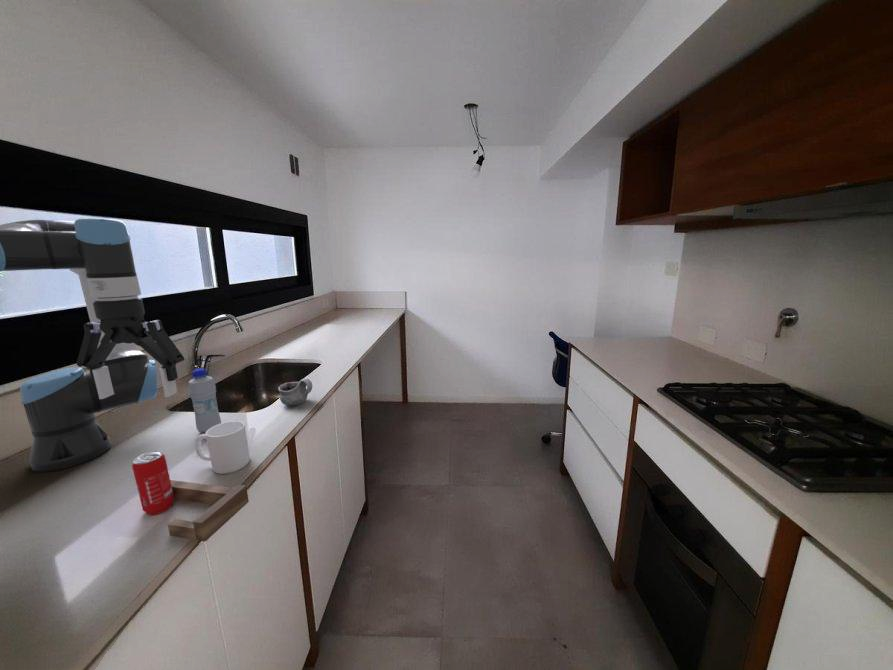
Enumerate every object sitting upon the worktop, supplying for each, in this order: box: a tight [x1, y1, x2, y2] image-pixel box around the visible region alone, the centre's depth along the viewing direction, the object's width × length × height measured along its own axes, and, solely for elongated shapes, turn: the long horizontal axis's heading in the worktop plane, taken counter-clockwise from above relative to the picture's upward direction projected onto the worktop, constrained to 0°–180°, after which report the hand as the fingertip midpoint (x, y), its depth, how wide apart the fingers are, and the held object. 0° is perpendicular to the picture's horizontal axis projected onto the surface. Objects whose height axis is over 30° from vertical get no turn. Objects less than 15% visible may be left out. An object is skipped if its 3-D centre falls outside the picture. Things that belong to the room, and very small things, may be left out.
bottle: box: [188, 368, 222, 435], centre depth 106 cm, size 7×7×20 cm
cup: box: [194, 420, 251, 475], centre depth 89 cm, size 8×12×10 cm
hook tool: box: [166, 479, 249, 542], centre depth 72 cm, size 20×11×4 cm, turn 79°
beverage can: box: [131, 450, 175, 516], centre depth 73 cm, size 5×5×12 cm
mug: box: [277, 377, 313, 407], centre depth 126 cm, size 10×12×10 cm
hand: (139, 395), depth 77 cm, fingers open, 13 cm apart
